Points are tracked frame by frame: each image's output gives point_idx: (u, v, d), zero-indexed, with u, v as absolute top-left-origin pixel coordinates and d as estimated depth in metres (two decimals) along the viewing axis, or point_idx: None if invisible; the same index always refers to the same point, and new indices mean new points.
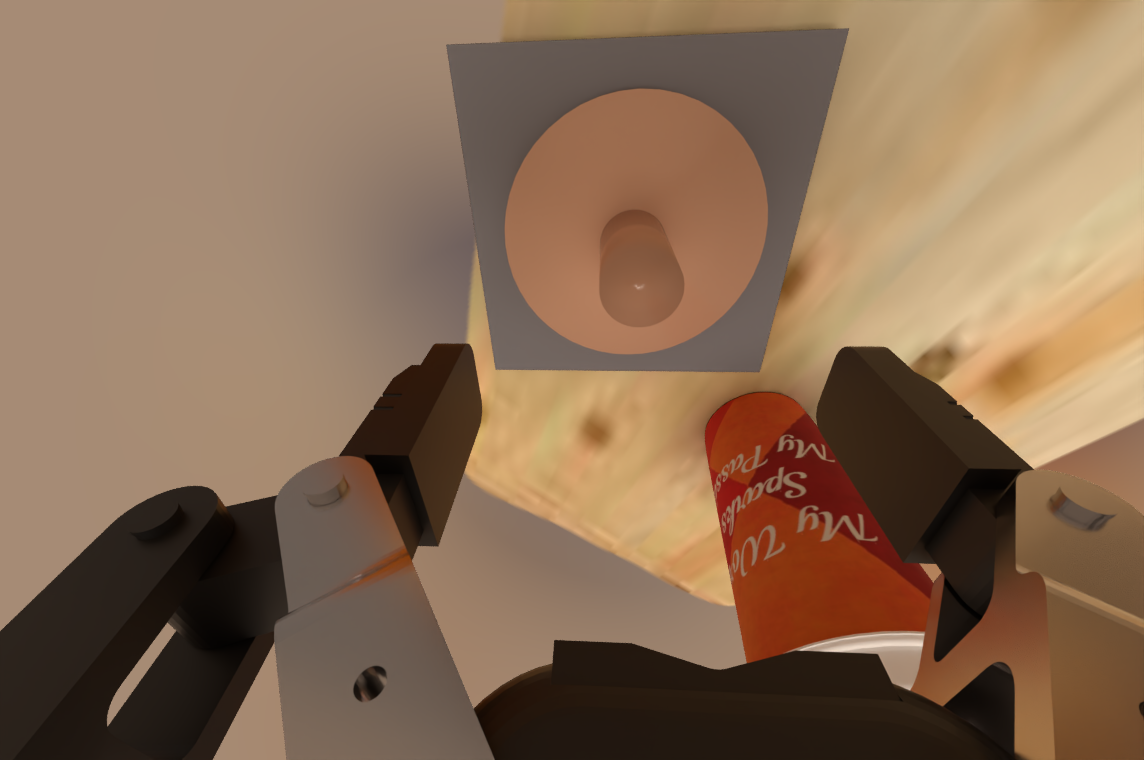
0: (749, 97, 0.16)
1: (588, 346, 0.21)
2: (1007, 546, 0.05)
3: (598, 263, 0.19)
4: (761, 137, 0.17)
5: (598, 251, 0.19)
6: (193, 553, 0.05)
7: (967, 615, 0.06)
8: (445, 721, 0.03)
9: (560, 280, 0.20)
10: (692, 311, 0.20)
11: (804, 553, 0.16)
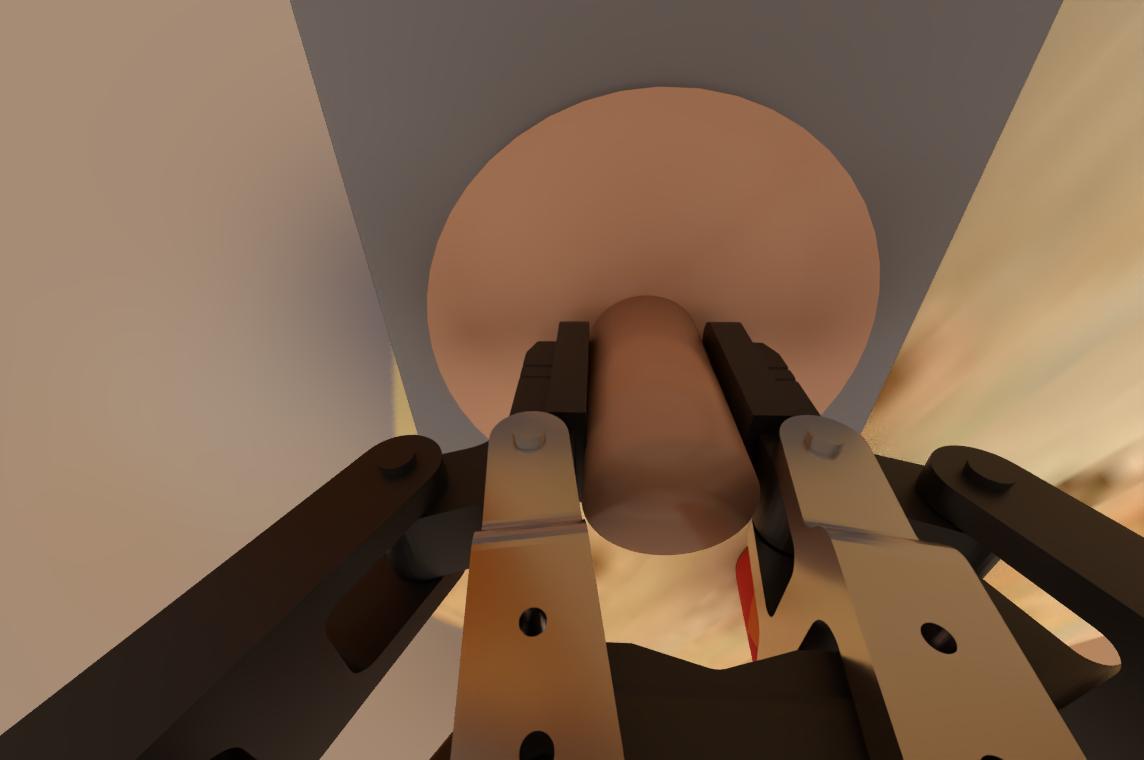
0: (861, 104, 0.09)
1: None
2: (791, 499, 0.06)
3: None
4: (874, 175, 0.09)
5: None
6: (436, 488, 0.06)
7: (777, 556, 0.07)
8: (587, 691, 0.03)
9: None
10: None
11: None
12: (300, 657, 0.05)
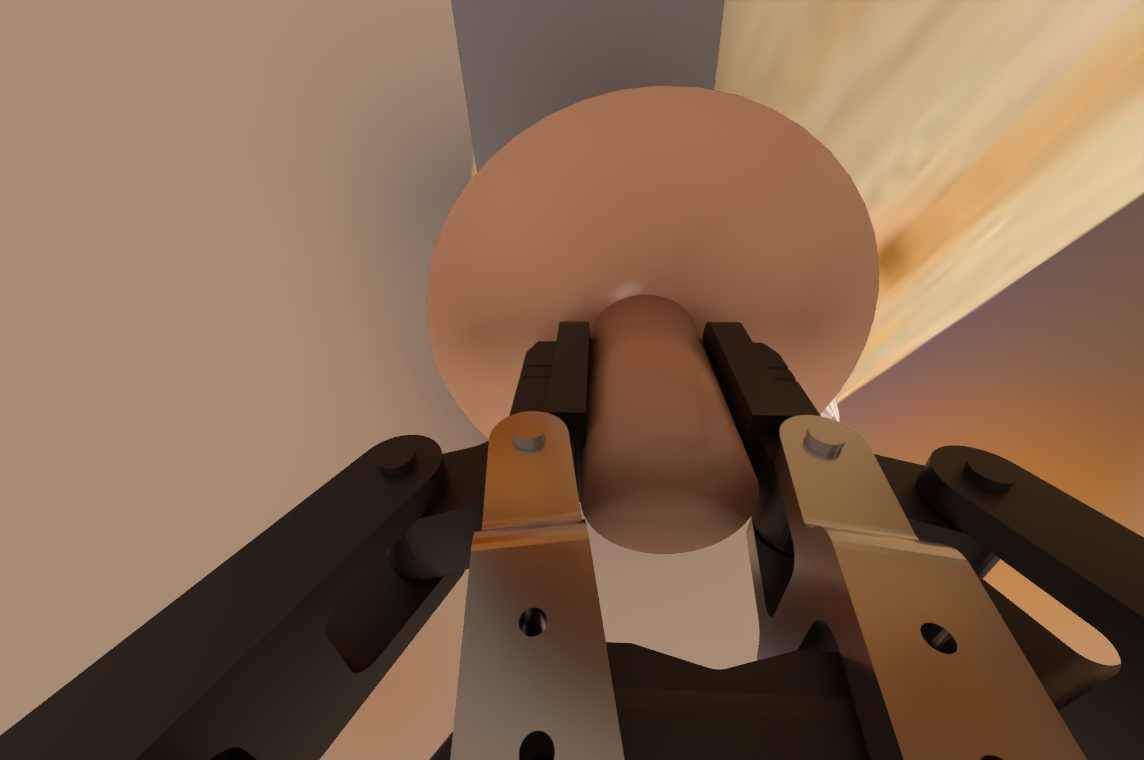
0: (664, 30, 0.23)
1: None
2: (791, 499, 0.06)
3: None
4: (675, 61, 0.23)
5: None
6: (436, 488, 0.06)
7: (777, 556, 0.07)
8: (587, 692, 0.03)
9: None
10: None
11: None
12: (300, 657, 0.05)
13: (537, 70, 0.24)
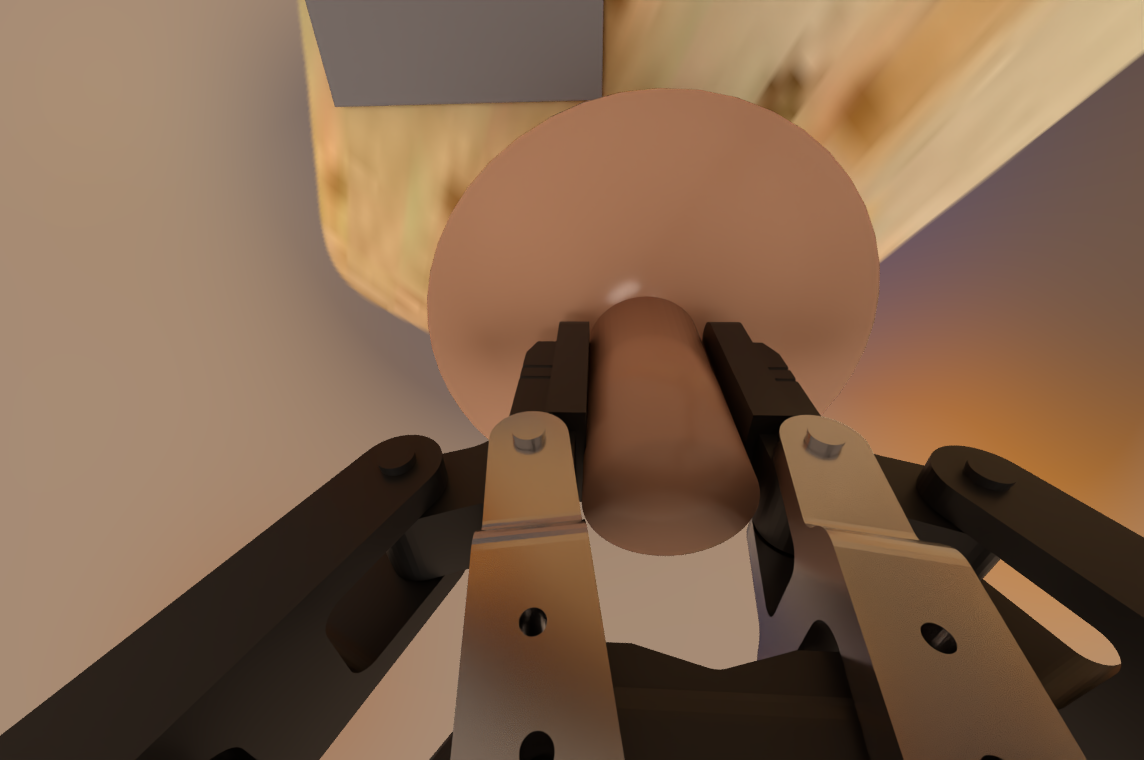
0: None
1: None
2: (791, 499, 0.06)
3: None
4: None
5: None
6: (436, 488, 0.06)
7: (777, 556, 0.07)
8: (587, 691, 0.03)
9: None
10: None
11: None
12: (300, 657, 0.05)
13: None
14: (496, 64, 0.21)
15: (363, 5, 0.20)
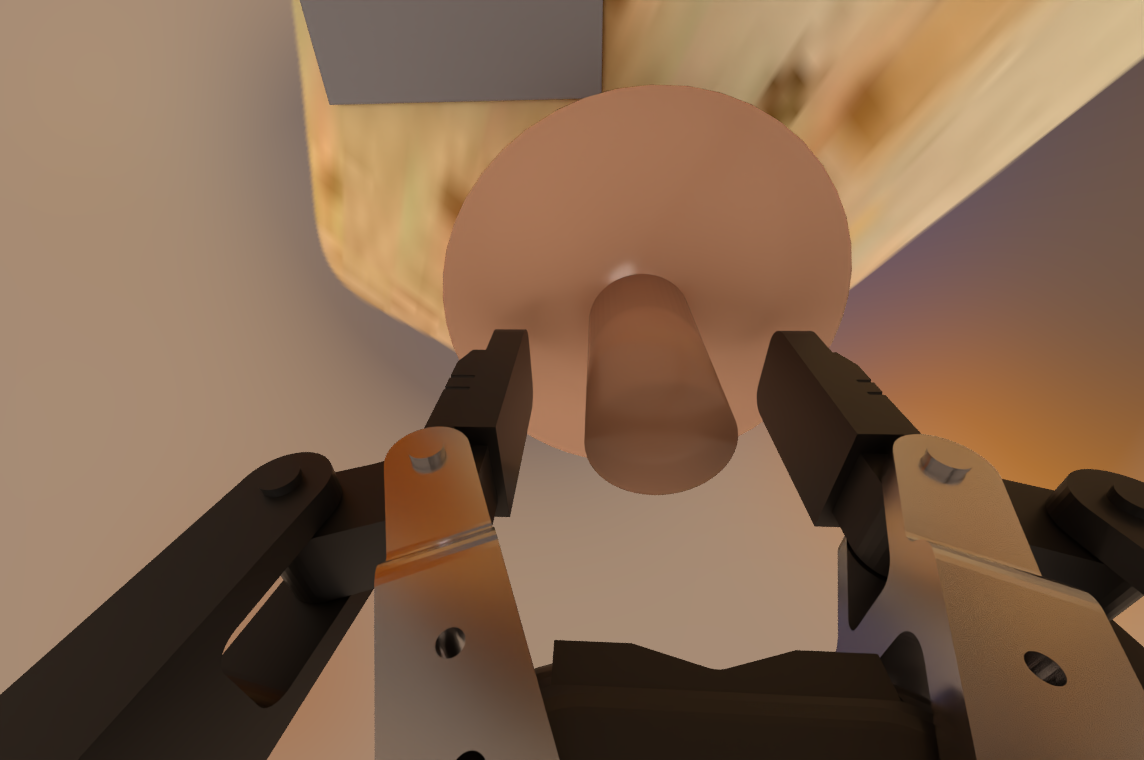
0: None
1: (574, 452, 0.15)
2: (895, 513, 0.05)
3: (587, 348, 0.13)
4: None
5: (586, 332, 0.12)
6: (318, 509, 0.06)
7: (869, 576, 0.07)
8: (513, 697, 0.03)
9: (531, 369, 0.13)
10: None
11: None
12: (195, 700, 0.04)
13: None
14: (494, 61, 0.21)
15: (358, 1, 0.20)
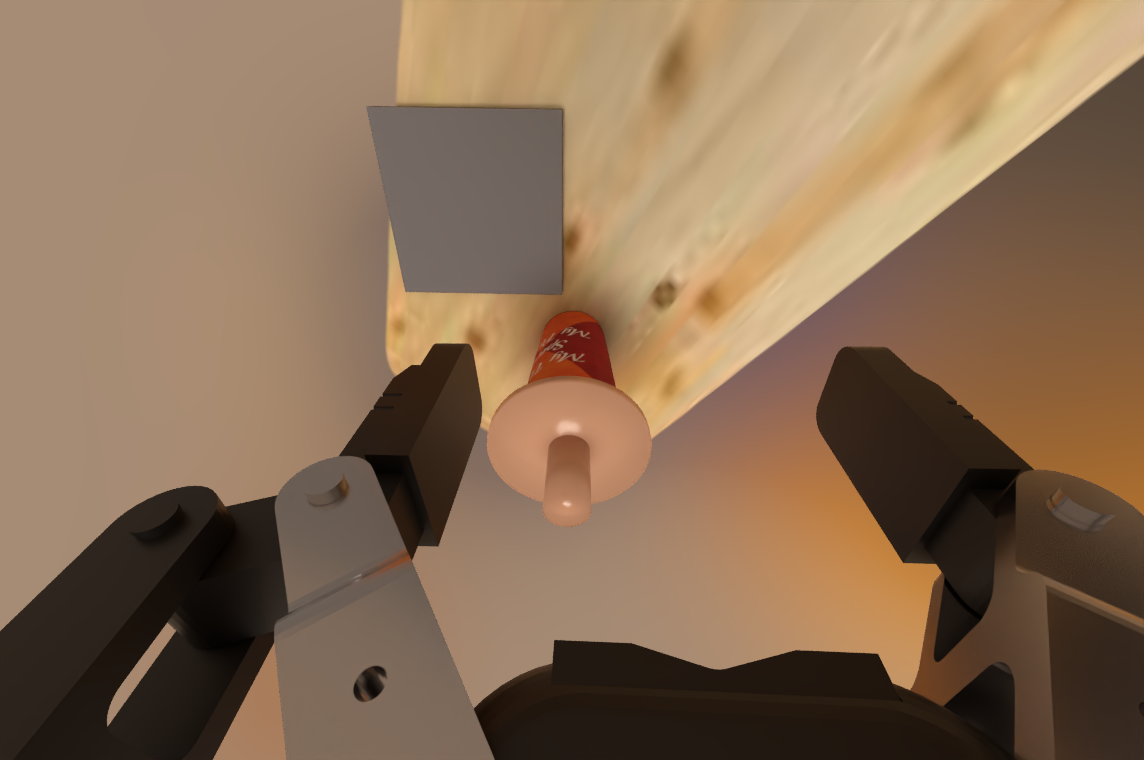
0: (522, 139, 0.32)
1: (542, 501, 0.32)
2: (1007, 546, 0.05)
3: (547, 459, 0.29)
4: (532, 159, 0.33)
5: (547, 454, 0.29)
6: (193, 553, 0.05)
7: (967, 615, 0.06)
8: (444, 721, 0.03)
9: (523, 467, 0.30)
10: (609, 484, 0.31)
11: (547, 367, 0.32)
12: None
13: (433, 158, 0.33)
14: (502, 276, 0.38)
15: (428, 247, 0.36)
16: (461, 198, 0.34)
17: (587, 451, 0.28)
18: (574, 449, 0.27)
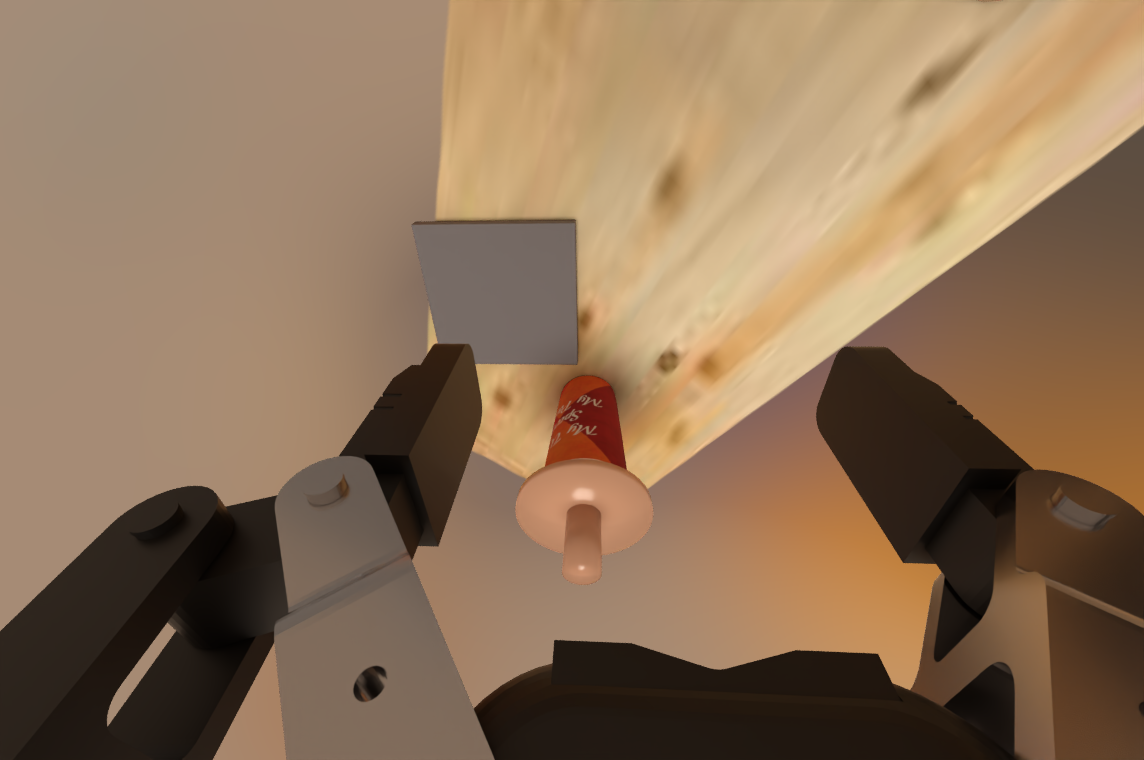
0: (541, 245, 0.37)
1: (562, 552, 0.38)
2: (1007, 546, 0.05)
3: (566, 522, 0.35)
4: (550, 260, 0.38)
5: (565, 517, 0.35)
6: (193, 553, 0.05)
7: (967, 615, 0.06)
8: (445, 721, 0.03)
9: (545, 527, 0.36)
10: (618, 540, 0.36)
11: (565, 440, 0.37)
12: None
13: (466, 262, 0.39)
14: (525, 350, 0.43)
15: (462, 329, 0.42)
16: (490, 291, 0.40)
17: (598, 518, 0.34)
18: (587, 518, 0.33)
